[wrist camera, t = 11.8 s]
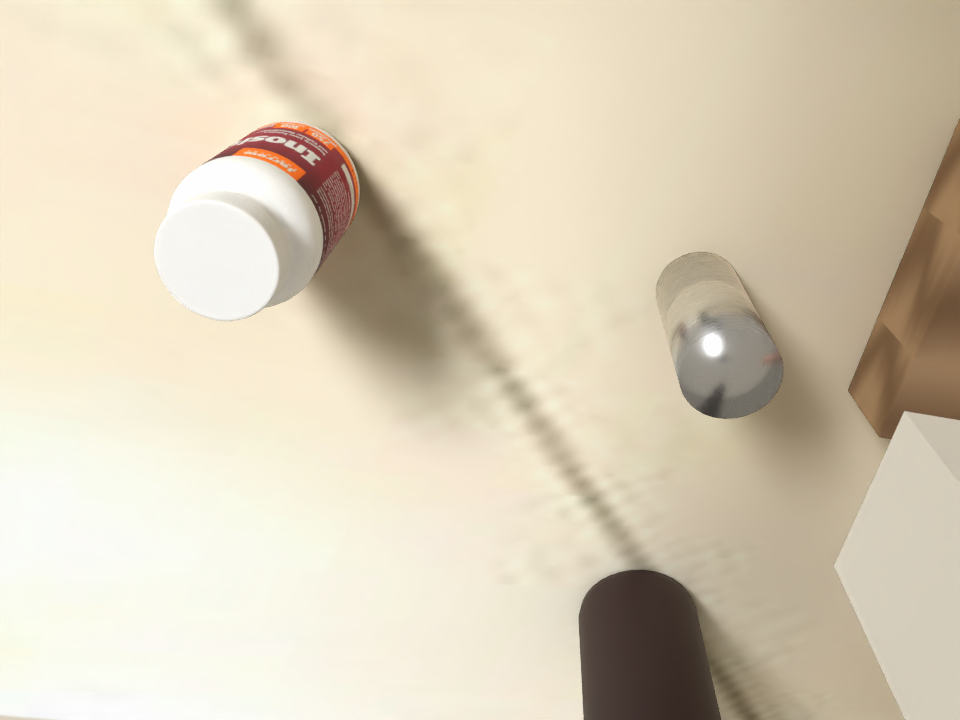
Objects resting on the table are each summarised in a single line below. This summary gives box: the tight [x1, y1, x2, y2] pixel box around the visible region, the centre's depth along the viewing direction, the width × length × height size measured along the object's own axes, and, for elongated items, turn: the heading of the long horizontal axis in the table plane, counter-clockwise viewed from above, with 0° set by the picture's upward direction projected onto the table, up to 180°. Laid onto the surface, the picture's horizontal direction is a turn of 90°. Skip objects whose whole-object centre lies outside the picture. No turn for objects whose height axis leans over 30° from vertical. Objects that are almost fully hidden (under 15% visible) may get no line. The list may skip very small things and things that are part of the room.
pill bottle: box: [154, 121, 360, 321], centre depth 35 cm, size 6×6×11 cm
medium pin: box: [656, 252, 783, 419], centre depth 37 cm, size 4×4×9 cm
